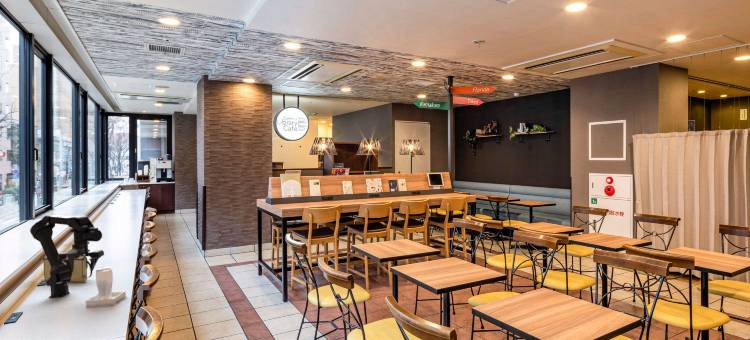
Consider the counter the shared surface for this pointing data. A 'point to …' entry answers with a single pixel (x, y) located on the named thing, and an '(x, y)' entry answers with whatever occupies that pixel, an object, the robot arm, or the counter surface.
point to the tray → (106, 300)
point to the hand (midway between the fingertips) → (82, 271)
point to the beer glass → (104, 283)
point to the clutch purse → (78, 272)
